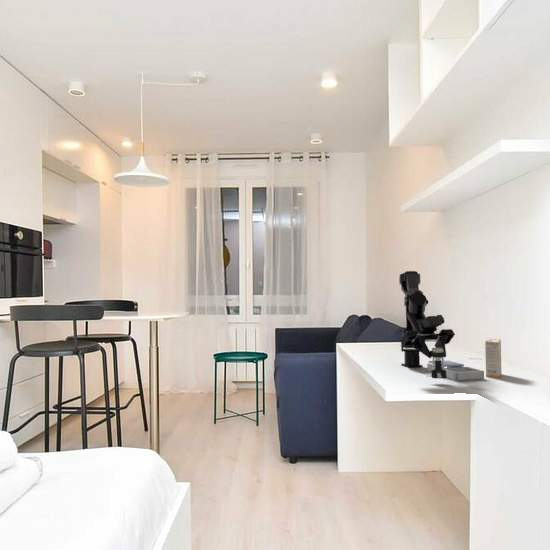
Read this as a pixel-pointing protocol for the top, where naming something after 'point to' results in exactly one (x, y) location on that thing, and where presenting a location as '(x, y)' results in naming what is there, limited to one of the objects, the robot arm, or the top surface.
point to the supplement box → (493, 358)
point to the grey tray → (461, 373)
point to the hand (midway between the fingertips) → (438, 357)
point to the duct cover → (449, 363)
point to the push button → (438, 363)
